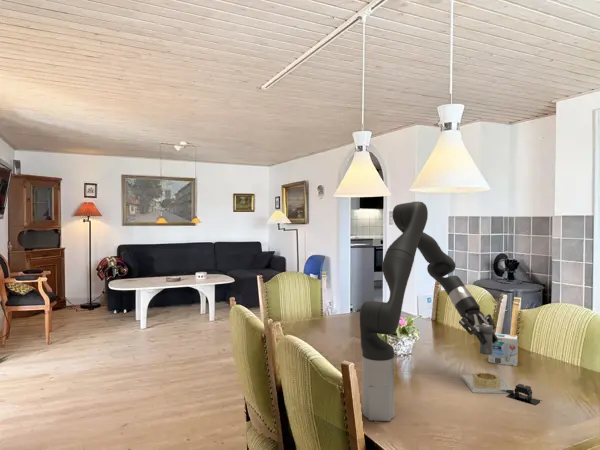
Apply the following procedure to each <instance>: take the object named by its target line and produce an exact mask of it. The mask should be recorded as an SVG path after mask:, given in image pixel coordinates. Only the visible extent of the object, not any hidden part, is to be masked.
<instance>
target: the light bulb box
mask: <svg viewBox="0 0 600 450" xmlns="http://www.w3.org/2000/svg"><path fill="white" fill-rule="evenodd" d="M494 333H495V332H494ZM495 335H496V336H497V338H498V341H497V342H496V343H493V342H492V351H493V354H491V355H487V357H488V363H490V364H497V363H498V365H504V364H505V365H506V366H511V365H513V366H512V367H517V366H518V355H519V354H518V353H519V352H518V351H519V349H518V347H519V343H518V340H519V339H518V338H519V337H518V335H515V334H514V335H513V334H505V333H504V334H503V333H495Z"/></svg>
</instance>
